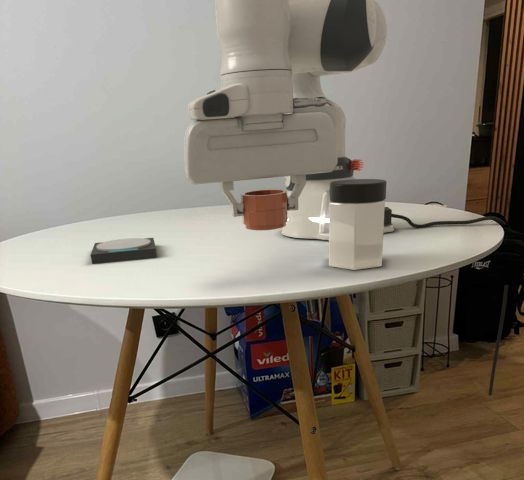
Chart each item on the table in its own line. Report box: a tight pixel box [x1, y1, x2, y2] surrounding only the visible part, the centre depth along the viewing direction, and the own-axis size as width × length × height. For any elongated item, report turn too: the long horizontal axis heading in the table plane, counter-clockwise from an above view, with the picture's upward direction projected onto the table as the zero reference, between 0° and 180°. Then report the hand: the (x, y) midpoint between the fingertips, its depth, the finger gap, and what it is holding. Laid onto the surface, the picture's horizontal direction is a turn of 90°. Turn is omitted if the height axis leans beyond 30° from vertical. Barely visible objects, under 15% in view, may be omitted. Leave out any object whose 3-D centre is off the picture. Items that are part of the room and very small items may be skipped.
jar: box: [328, 178, 388, 271], centre depth 75 cm, size 9×8×12 cm
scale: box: [90, 237, 158, 265], centre depth 91 cm, size 11×11×2 cm
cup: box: [240, 188, 289, 231], centre depth 68 cm, size 6×6×4 cm
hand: (264, 213), depth 68 cm, fingers closed on cup, 6 cm apart
